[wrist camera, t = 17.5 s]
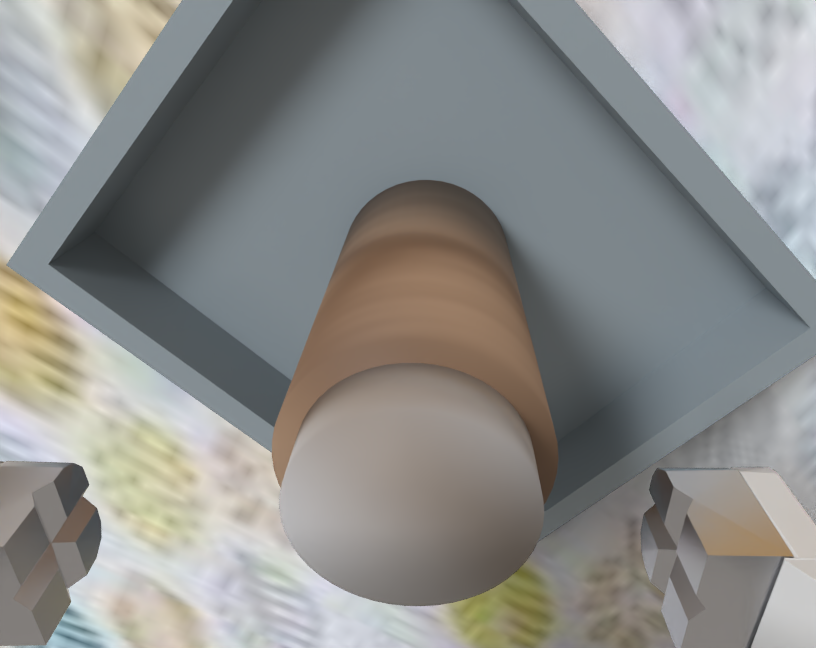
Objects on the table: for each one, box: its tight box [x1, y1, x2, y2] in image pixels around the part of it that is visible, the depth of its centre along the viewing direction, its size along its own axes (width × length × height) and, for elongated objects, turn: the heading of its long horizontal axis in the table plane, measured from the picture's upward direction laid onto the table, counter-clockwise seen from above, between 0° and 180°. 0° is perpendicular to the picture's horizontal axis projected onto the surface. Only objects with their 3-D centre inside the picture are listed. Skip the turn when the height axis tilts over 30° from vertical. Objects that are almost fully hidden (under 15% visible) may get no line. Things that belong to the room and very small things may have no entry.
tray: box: [7, 0, 816, 541], centre depth 18 cm, size 14×17×4 cm
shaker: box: [272, 180, 558, 606], centre depth 14 cm, size 5×5×10 cm
